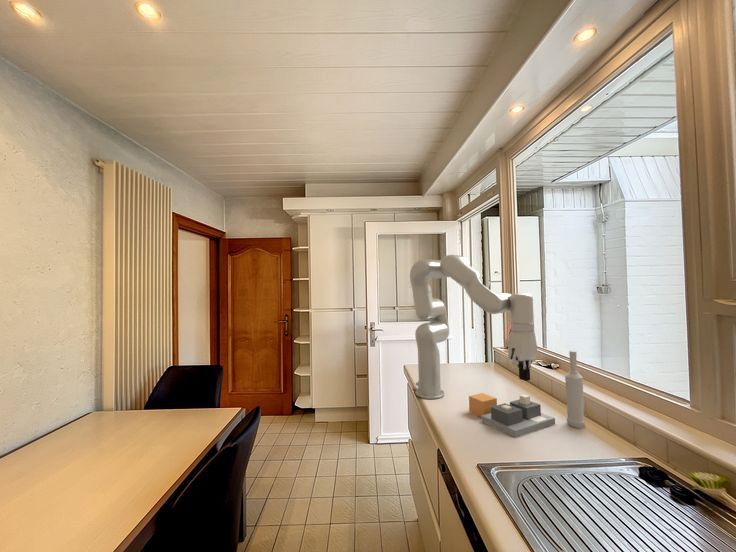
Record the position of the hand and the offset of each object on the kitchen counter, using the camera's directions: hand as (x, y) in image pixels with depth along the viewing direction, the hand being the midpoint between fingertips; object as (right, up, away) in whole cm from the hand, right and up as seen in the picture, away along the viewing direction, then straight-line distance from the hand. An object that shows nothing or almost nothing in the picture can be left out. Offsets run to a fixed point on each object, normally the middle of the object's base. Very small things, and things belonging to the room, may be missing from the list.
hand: (524, 379), depth 116 cm
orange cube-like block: (-12, -15, +7) cm, 21 cm away
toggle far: (0, -10, 0) cm, 10 cm away
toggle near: (-8, -12, -5) cm, 15 cm away
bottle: (+15, -14, -5) cm, 21 cm away
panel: (-3, -14, -2) cm, 15 cm away
